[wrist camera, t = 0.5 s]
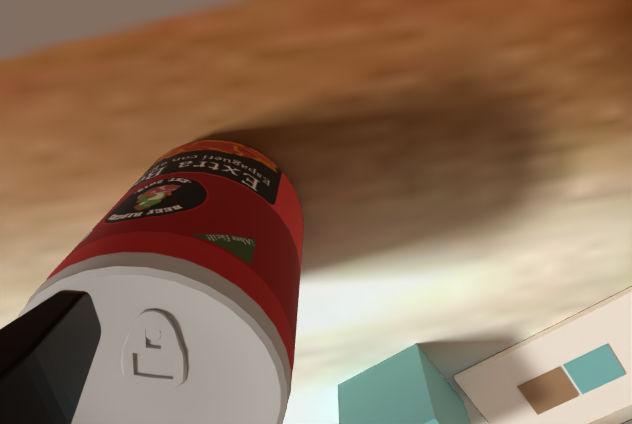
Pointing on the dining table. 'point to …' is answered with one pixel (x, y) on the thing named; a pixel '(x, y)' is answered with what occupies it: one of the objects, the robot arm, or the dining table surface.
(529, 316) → the dining table surface
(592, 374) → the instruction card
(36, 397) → the robot arm
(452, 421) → the teal cube
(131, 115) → the dining table surface
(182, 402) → the canned food
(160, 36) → the dining table surface
